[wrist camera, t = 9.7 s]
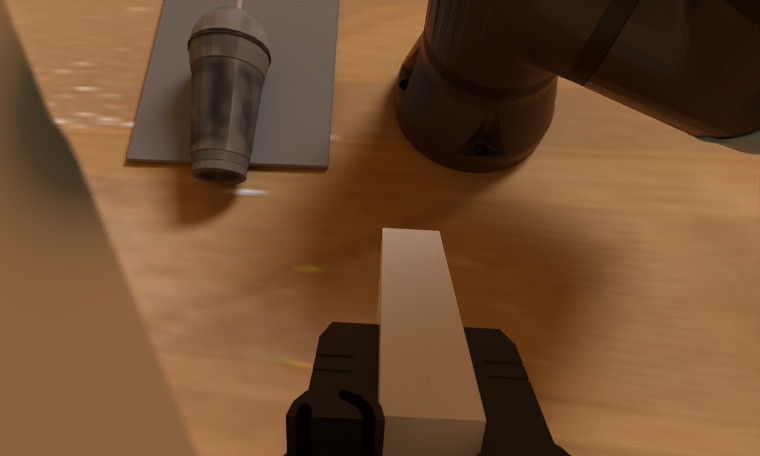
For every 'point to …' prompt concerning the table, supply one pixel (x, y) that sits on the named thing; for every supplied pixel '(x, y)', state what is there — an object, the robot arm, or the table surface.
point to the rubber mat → (279, 94)
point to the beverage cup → (225, 92)
